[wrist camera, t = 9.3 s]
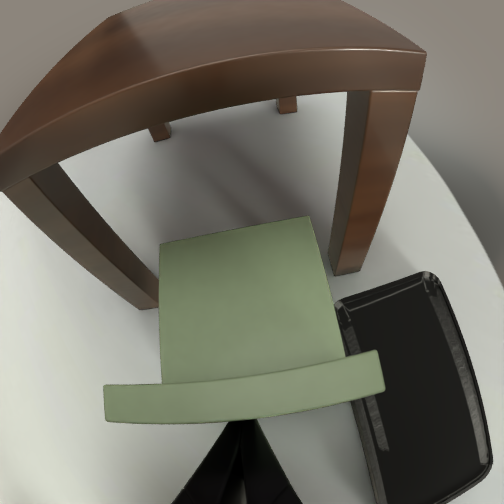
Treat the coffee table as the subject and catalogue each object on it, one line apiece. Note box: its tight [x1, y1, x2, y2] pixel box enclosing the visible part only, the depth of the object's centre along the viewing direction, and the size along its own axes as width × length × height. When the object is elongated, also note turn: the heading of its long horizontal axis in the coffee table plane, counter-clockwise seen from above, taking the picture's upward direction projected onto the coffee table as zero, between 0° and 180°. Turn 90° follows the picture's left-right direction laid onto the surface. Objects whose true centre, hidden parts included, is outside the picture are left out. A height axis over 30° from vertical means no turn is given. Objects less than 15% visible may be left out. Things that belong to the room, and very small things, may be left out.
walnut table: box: [0, 0, 427, 310], centre depth 17 cm, size 20×15×14 cm
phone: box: [334, 271, 493, 504], centre depth 13 cm, size 8×1×15 cm
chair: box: [103, 216, 385, 424], centre depth 13 cm, size 9×8×10 cm
